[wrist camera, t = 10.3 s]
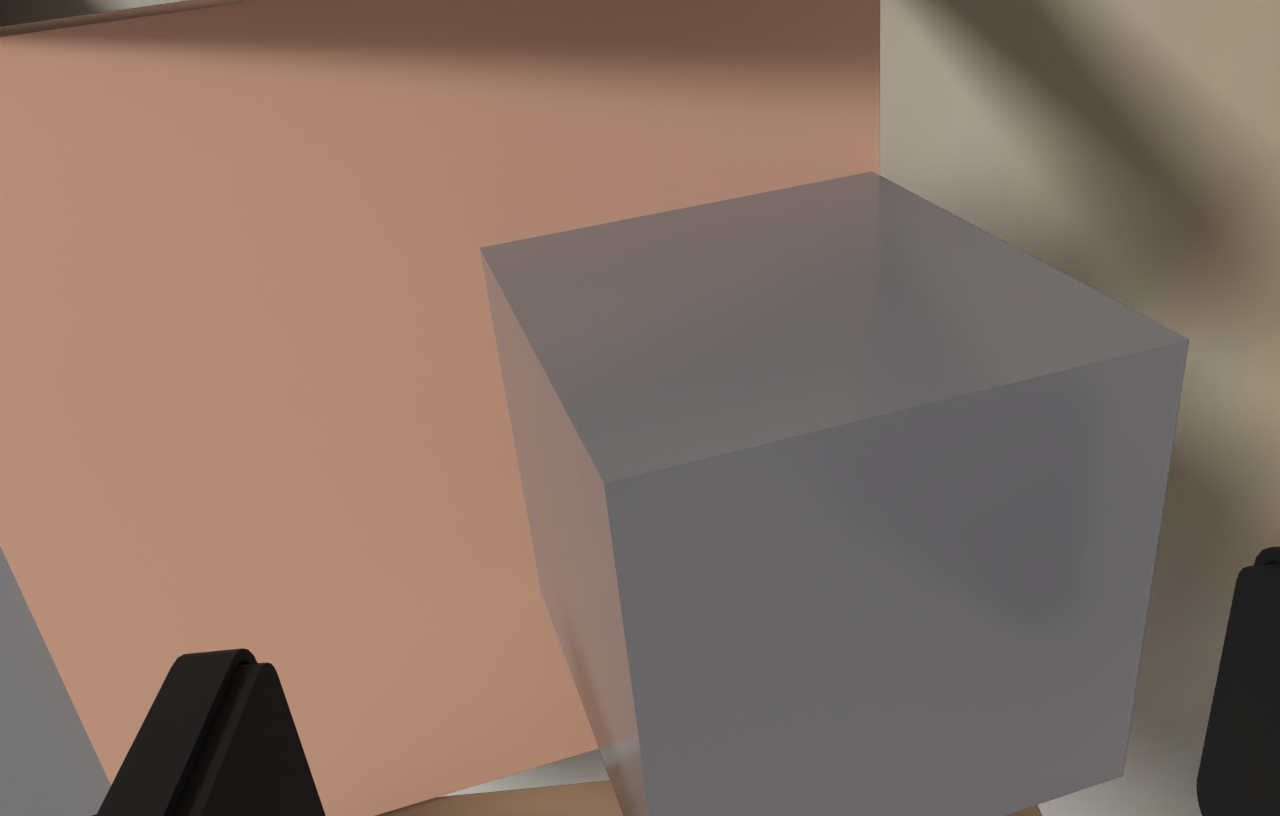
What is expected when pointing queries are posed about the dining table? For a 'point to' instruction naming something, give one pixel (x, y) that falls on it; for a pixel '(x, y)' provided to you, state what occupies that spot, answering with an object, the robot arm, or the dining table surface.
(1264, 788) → the robot arm
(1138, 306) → the dining table surface
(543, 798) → the stand
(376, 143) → the trapdoor
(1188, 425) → the dining table surface
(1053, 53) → the dining table surface
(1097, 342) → the grey block
